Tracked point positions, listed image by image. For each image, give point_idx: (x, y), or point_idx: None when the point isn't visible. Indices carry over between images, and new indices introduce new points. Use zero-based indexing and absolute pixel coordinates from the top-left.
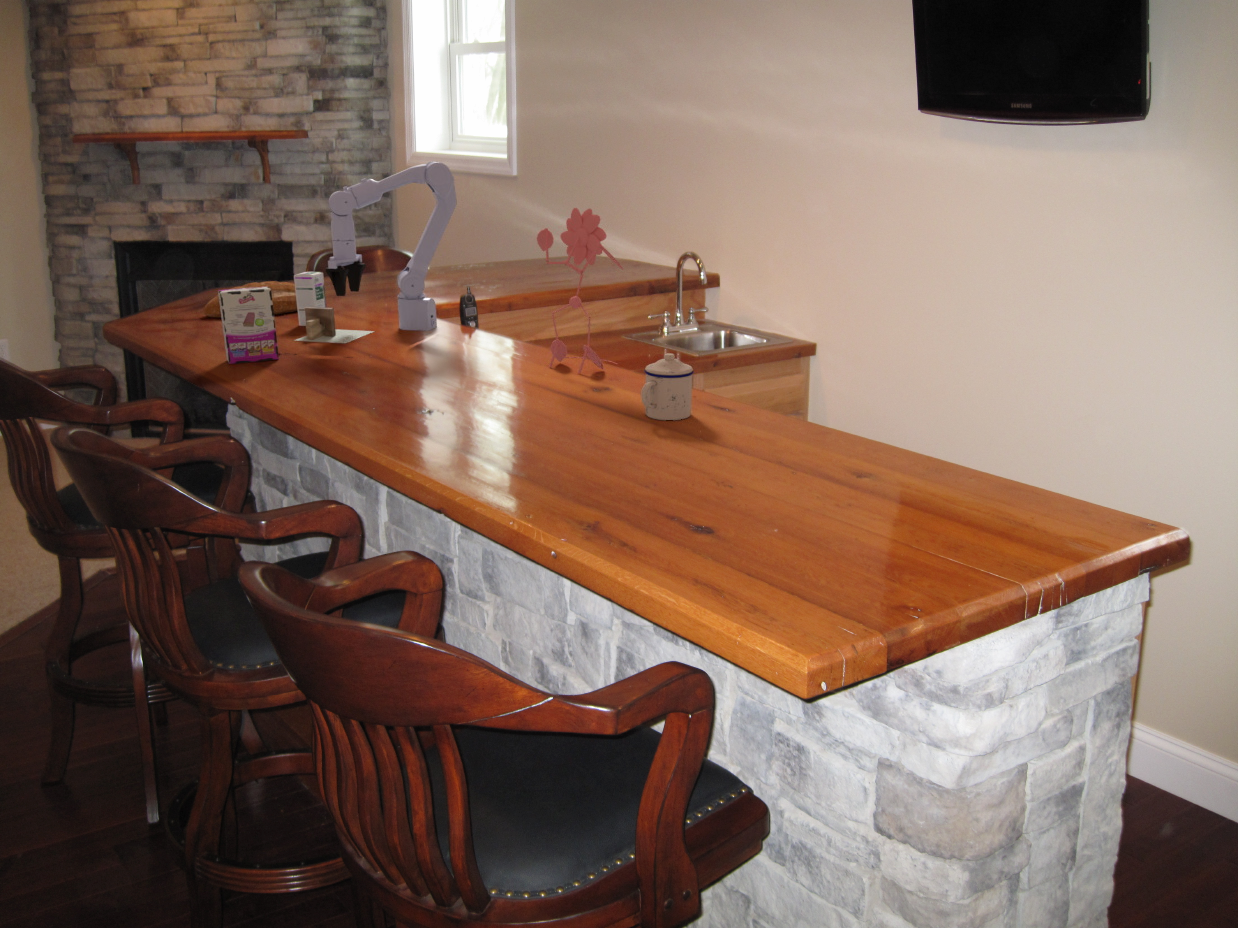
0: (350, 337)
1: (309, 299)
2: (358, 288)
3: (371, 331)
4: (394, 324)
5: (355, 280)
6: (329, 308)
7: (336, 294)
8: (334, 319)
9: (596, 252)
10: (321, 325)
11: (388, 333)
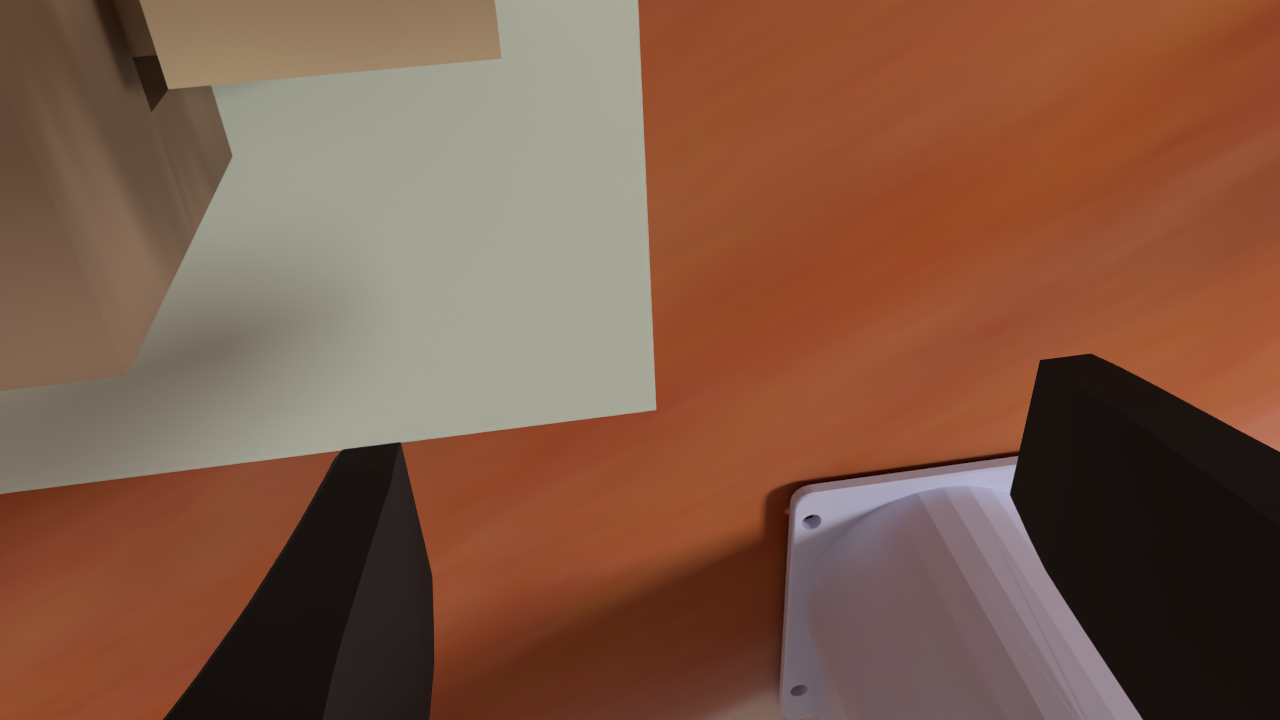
0: (221, 381)
1: None
2: (1049, 558)
3: (635, 390)
4: (1240, 273)
5: (1177, 657)
6: (32, 338)
7: (330, 474)
8: (176, 266)
9: None
10: None
11: (743, 463)
